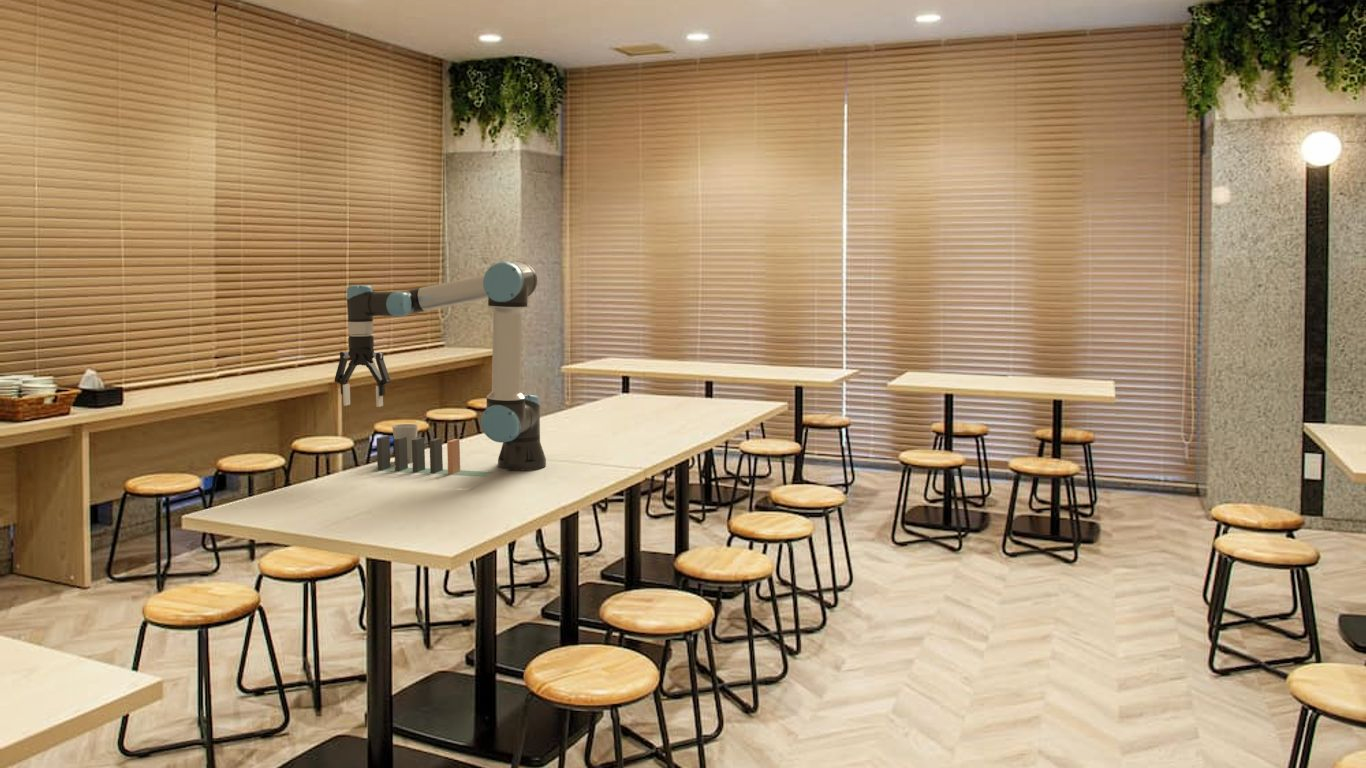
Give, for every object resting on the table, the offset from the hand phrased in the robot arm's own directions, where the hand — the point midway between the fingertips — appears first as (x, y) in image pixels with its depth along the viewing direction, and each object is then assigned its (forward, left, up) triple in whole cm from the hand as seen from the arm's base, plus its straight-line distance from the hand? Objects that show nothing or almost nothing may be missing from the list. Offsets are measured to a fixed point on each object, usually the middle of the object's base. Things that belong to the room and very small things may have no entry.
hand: (363, 405), depth 336 cm
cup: (-7, -13, -20) cm, 25 cm away
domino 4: (-25, 0, -20) cm, 31 cm away
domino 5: (-30, 0, -20) cm, 36 cm away
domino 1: (-7, 0, -20) cm, 21 cm away
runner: (-23, 0, -20) cm, 31 cm away
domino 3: (-19, 0, -20) cm, 27 cm away
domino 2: (-13, 0, -20) cm, 23 cm away
